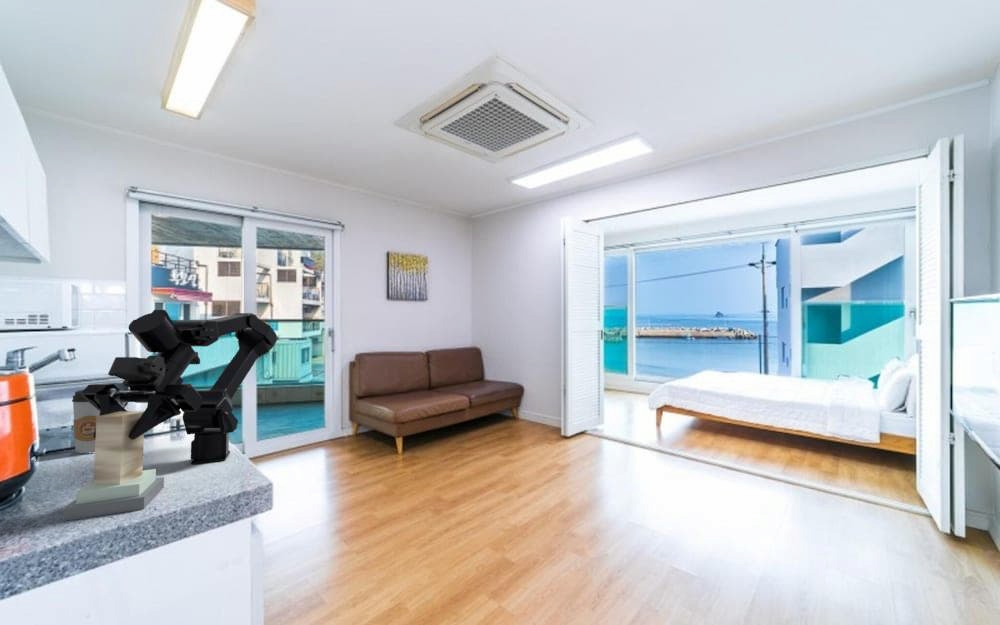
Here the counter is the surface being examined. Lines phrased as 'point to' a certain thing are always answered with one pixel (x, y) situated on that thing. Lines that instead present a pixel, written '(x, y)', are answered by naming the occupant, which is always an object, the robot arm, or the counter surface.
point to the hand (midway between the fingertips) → (113, 438)
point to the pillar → (117, 448)
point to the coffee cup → (84, 423)
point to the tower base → (113, 504)
